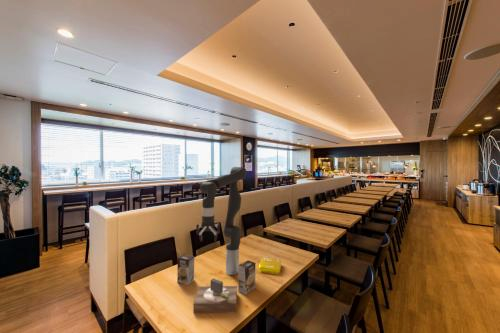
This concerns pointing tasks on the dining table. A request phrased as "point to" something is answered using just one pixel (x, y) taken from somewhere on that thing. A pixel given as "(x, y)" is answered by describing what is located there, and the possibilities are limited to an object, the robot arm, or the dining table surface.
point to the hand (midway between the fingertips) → (208, 240)
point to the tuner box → (215, 300)
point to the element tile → (270, 266)
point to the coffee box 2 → (246, 277)
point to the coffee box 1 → (185, 269)
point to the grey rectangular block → (217, 287)
